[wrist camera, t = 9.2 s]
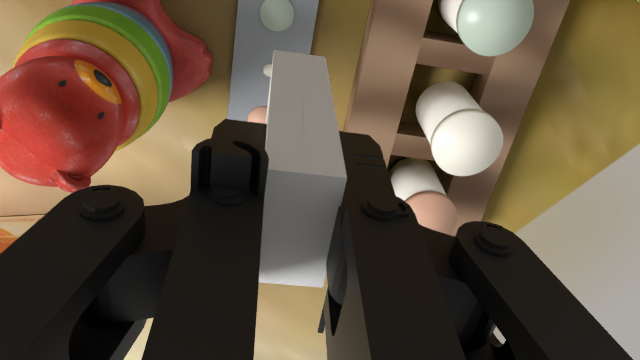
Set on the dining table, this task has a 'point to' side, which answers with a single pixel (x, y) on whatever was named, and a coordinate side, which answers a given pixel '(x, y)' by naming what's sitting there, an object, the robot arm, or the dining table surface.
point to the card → (265, 50)
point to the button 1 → (424, 194)
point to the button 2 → (488, 23)
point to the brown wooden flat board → (447, 52)
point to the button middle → (458, 129)
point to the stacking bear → (92, 87)
